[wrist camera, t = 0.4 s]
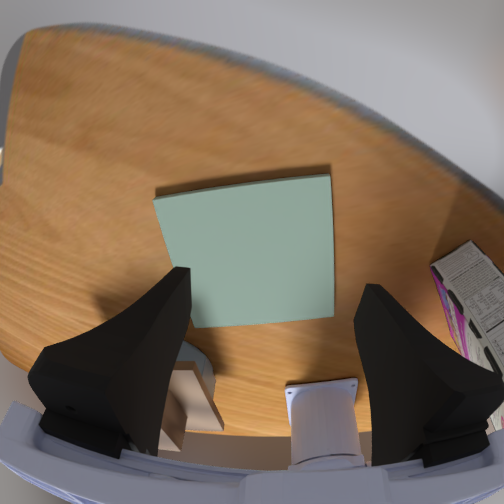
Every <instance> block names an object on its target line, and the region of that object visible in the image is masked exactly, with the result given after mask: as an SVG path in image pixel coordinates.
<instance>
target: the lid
mask: <svg viewBox="0 0 504 504" xmlns="http://www.w3.org/2000/svg"><path fill="white" fill-rule="evenodd" d="M185 430H198V431H224V422H223V420H222V418H221V416H220V414H219V412H218V409H217V407H216V405H215V403H214V401H213V399H212V397H211V395H210V393H209V391H208V389H207V386H206V384H205V382H204V380H203V378H202V376H201V373H200V371H199V369H198V367H197V364H196V362H195V361H176V362H175V365H174V368H173V371H172V375H171V378H170V383H169V387H168V392H167V397H166V402H165V408H164V413H163V419H162V425H161V432H160V438H159V446H158V449H162V450H171V451H181V449H182V444H183V439H184V433H185Z"/></svg>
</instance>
